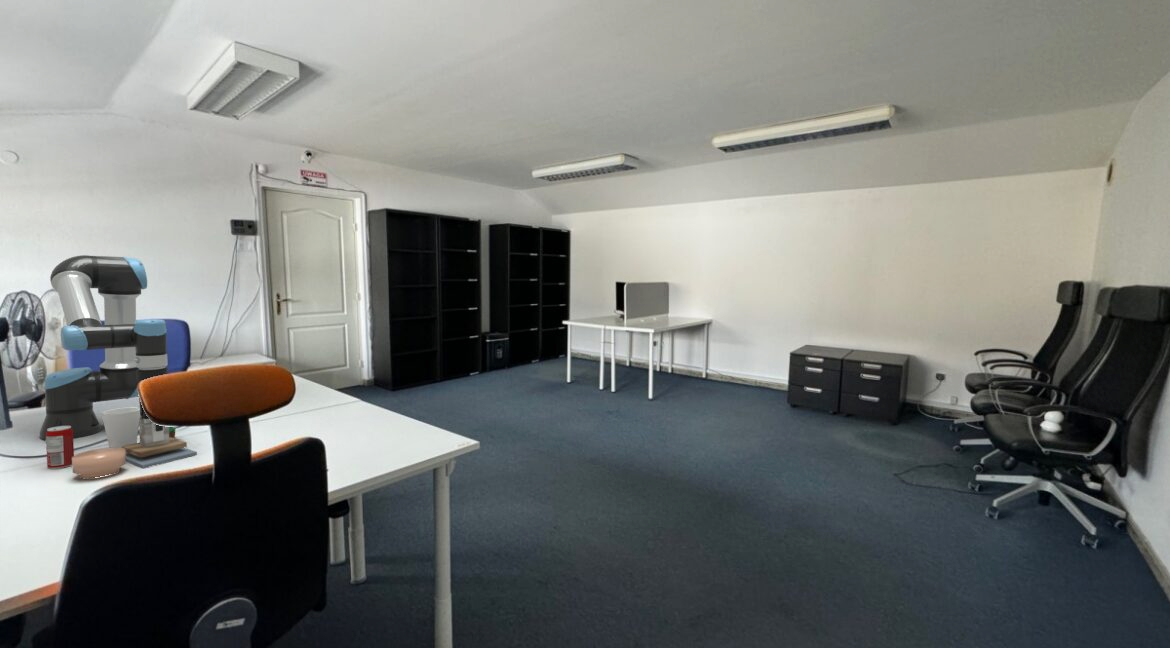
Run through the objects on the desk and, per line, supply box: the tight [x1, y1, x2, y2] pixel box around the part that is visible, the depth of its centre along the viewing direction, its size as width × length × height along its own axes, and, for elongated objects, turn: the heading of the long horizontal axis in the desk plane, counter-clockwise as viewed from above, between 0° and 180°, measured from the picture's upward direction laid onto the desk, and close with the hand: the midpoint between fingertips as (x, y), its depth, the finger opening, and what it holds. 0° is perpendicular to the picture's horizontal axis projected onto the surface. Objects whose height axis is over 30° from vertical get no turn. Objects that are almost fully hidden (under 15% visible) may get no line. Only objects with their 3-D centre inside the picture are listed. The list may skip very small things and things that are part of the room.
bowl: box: [71, 447, 127, 480], centre depth 141 cm, size 11×11×6 cm
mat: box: [125, 447, 198, 469], centre depth 157 cm, size 20×14×1 cm
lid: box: [122, 422, 188, 458], centre depth 157 cm, size 12×12×8 cm
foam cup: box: [101, 406, 141, 448], centre depth 162 cm, size 10×9×13 cm
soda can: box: [45, 426, 75, 470], centre depth 146 cm, size 6×6×12 cm
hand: (154, 439), depth 157 cm, fingers closed on lid, 4 cm apart
